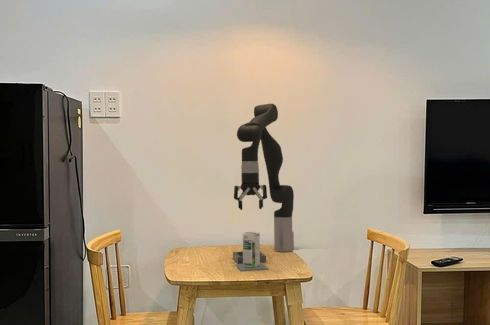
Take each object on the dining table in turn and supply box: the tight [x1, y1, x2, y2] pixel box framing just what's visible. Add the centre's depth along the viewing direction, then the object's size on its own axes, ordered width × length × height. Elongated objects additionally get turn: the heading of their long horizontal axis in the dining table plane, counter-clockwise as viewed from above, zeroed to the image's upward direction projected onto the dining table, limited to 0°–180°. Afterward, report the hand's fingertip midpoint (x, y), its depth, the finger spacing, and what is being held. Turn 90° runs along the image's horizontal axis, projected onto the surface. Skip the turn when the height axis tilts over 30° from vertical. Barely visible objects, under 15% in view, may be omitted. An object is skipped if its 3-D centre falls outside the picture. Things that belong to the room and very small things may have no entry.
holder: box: [232, 250, 267, 264], centre depth 226 cm, size 13×13×3 cm
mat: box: [234, 262, 269, 272], centre depth 212 cm, size 12×12×1 cm
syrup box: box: [242, 231, 261, 268], centre depth 212 cm, size 6×6×14 cm
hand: (250, 209), depth 211 cm, fingers open, 8 cm apart
